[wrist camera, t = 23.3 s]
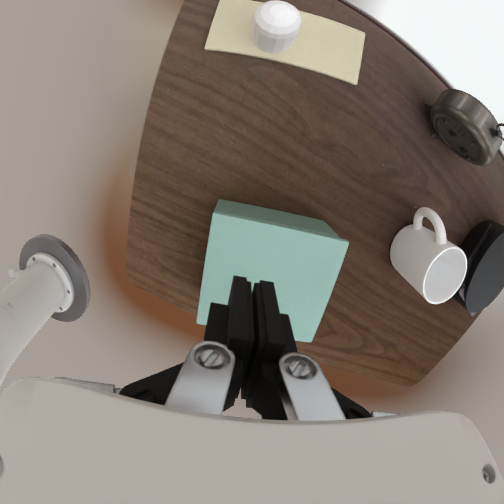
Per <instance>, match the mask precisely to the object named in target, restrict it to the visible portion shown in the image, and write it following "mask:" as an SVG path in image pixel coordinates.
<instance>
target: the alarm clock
mask: <svg viewBox="0 0 504 504" xmlns="http://www.w3.org/2000/svg"><path fill="white" fill-rule="evenodd" d="M424 104H425V105H428V106H429V107H431V111H430V117H431V121H432V124H433V127H434V129H435V130H436V132H437V133H436V134H432V135H431V137H432V138H437V137H440V138H441V139H442V140H443V141H444V142H445V144H446V145H447V146H448V147H449V148H450V149H451V150H452V151H454V152H455V153H456V154H457V155H458V156H460V157H461V158H463V159H464V160H466V161H468V162H470V163H472V164H475V165H479V166H484V165H487V164H489V163H490V162H491V161H492V160H493V158H494V156H495V154H496V153H497V151H498V149H499V147H500V146H501V144H502V140H503V141H504V138H502V132H501V130H500V127H499V126H504V124H502V123H501V124H498V123H497V121H496V119H495V118H494V116H493V115H492V114H491V112H490V111H489V110H488V109H487V108H486V107H485V106H484V105H483V104H482V103H481V102H480V101H479V100H477V99H476V98H475V97H473V96H471V95H470V94H468V93H466V92H463V91H460V90H456V89H447V90H445V91H443V92H442V94H441V96H440V97H439V98H438V100H437V101H436V102H435V104H434V105H433V104H430V103H428V102H427V101H424Z"/></svg>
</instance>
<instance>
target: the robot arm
mask: <svg viewBox="0 0 504 504" xmlns="http://www.w3.org/2000/svg"><path fill="white" fill-rule="evenodd" d="M9 276H10V277H12V278H14V279H15V280H14V281H12V282H11V283H10V284H9V285H7V286H6V287H5V288H4V289H3V290H1V291H0V387H1V384H2V382H3V380H4V377H5V376H6V374H7V372H8V370H9V369H10V367H11V365H12V364H13V363H14V361H15V360H16V358H17V357H18V356H19V354H20V353H21V351H22V350H23V349H24V348H25V347H26V345H27V344H28V343H29V341H30V340H31V339H32V338H33V337H34V335H35V334H36V333H37V332H38V331H39V329H40V328H41V327H42V326H43V325H44V323H45V322H46V321H47V320H48V319H49V318H50V317H51V316H52V314H53V313H54V312H64V311H66V310H67V309H68V308H69V307H70V306H71V305H72V303H73V300H74V288H73V284H72V281H71V278H70V276H69V274H68V272H67V271H66V269H65V268H64V266H63V265H62V264H61V263H60V262H59V261H58V260H57V259H56V258H55V257H53V256H52V255H50V254H48V253H44V252H39V253H36V254H34V255H33V256H31V257H30V259H29V260H28V262H27V265H26V269H25V270H20V271H18V270H17V269H14V268H11V269H10V270H9ZM240 388H241V399H246V407H248V408H253V409H254V410H256V411H257V412H258V414H257V419H252V418H241V417H231V416H223V415H222V412H223V411H225V410H227V409H228V408H230V407H231V406H233V405H234V401H235V398H238V395H239V391H240ZM0 504H504V482H503V479H502V477H501V474H500V472H499V470H498V468H497V465H496V463H495V461H494V459H493V457H492V455H491V453H490V451H489V449H488V447H487V445H486V443H485V441H484V439H483V438H482V436H481V435H480V433H479V431H478V430H477V428H476V427H475V425H474V424H473V423H472V421H471V420H470V419H469V418H468V417H466V416H464V415H462V414H459V413H455V412H450V411H439V410H434V411H421V412H413V413H404V414H397V413H386V412H376V411H372V412H371V413H369V412H368V411H367V410H366V409H365V408H363V407H362V406H360V405H358V404H357V403H355V402H354V401H352V400H350V399H349V398H347V397H346V396H344V395H342V394H341V393H339V392H338V391H336V390H335V389H333V388H332V387H330V385H329V383H328V381H327V379H326V377H325V375H324V373H323V371H322V370H321V367H320V365H319V364H318V363H317V361H316V360H314V359H313V358H312V357H310V356H308V355H306V354H303V353H299V352H297V347H296V343H295V339H294V335H293V331H292V327H291V323H290V318H289V315H288V314H282V313H280V311H279V306H278V301H277V296H276V291H275V287H274V282H270V281H264V280H260V282H259V283H256V282H255V283H254V286H253V290H252V286H251V282H250V281H247V277H241V276H235V275H234V276H233V280H232V285H231V290H230V295H229V300H228V305H225V304H219V303H213V302H211V303H210V308H209V314H208V319H207V325H206V330H205V336H204V341H203V342H200V343H197V344H195V345H194V346H193V347H192V348H191V349H190V351H189V353H188V355H187V357H186V360H185V362H183V363H181V364H179V365H176V366H174V367H171V368H169V369H166V370H164V371H162V372H159V373H157V374H154V375H152V376H149V377H146V378H144V379H141V380H139V381H136V382H134V383H131V384H129V385H127V386H125V387H124V388H123V389H121V388H115V386H114V385H112V384H104V383H96V382H88V381H82V380H76V379H70V378H65V377H56V378H44V377H28V378H22V379H19V380H16V381H14V382H12V383H11V384H9V385H8V386H7V387H6V388H5V389H4V390H3V391H2V392H1V393H0Z"/></svg>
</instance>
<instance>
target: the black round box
mask: <svg viewBox="0 0 504 504" xmlns="http://www.w3.org/2000/svg"><path fill="white" fill-rule="evenodd" d="M460 249H462V250H463V252H464V253H465V255H466V259H467V270H466V275H465V278H464V280H463V282H462V284H461V286H460V288H459V289H458V290H457V292H456V293H455V294H454V295H453V296H452V297H453V298H454V299H455V300H457V301H458V302H459V303H460V304H461V305H462V306H463V307H464V308H465V309H466V310H468V311H469V312H470V313H471V315H472V317H473V316H474V314H475V313H476V312H479V311H481V310H483V309H484V308H485V307H487V306H488V305H489V304H490V303H491V302H492V301H493V300H494V299H495V298H496V297H497V296H498V294H499V293H500V292H501V290H502V289H503V287H504V226H503V225H501V224H498V223H496V222H494V221H491V220H487V221H483V222H482V223H480V224H479V225H477V226H476V227H475V228H474V229H473V230H472V231H471V232H470V233H469V235H468V236H467V237H466V239H465V240H464V241H463V243H462V245H461V246H460Z"/></svg>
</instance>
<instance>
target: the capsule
mask: <svg viewBox="0 0 504 504" xmlns="http://www.w3.org/2000/svg"><path fill="white" fill-rule="evenodd" d="M301 24H302V19H301V16H300V13H299V11H298V10H297V9H296V8H295V7H294V6H292V5H291V4H289V3H287V2H283V1H268V2H266V3H263V4H262V5H260V6H259V7H258V8H257V9H256V11H255V13H254V16H253V20H252V33H251V36H252V41H253V43H254V45H255V46H256V47H257V48H258V49H260V50H261V51H263V52H266V53H270V54H277V53H282V52H284V51H287V50H288V49H289V48H290V47H291V46H292V44H293V42H294V40H295V38H296V36H297V34H298V32H299V31H300V27H301Z"/></svg>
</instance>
